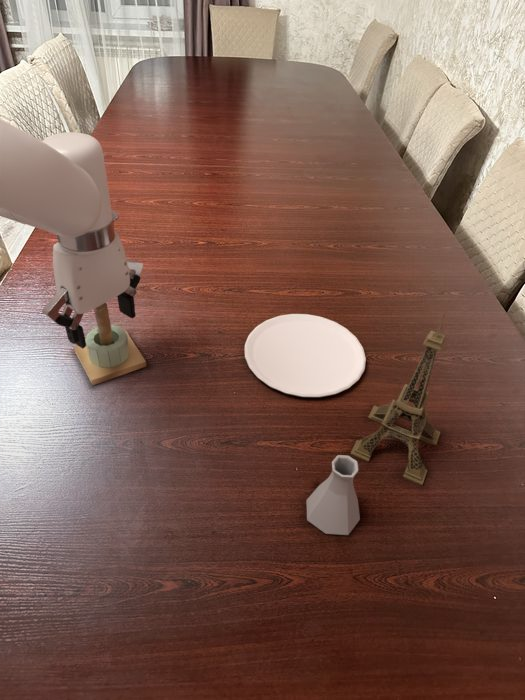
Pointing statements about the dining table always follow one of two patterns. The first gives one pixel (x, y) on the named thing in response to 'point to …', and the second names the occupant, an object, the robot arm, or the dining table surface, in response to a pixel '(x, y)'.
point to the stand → (106, 338)
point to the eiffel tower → (407, 415)
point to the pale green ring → (108, 348)
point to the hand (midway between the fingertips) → (103, 328)
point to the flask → (336, 499)
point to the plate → (305, 355)
